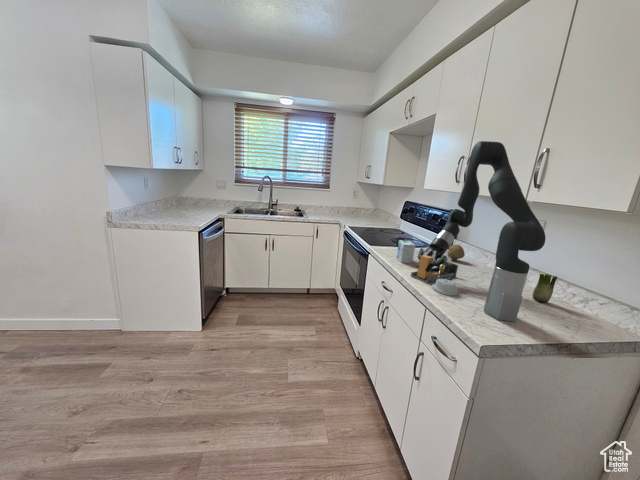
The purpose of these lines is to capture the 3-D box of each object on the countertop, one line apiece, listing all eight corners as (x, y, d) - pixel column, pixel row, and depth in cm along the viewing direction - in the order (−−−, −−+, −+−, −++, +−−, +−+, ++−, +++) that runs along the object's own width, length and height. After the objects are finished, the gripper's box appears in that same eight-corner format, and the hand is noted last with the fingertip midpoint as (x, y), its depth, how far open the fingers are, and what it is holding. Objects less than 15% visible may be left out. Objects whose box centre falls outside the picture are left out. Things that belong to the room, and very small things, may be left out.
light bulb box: (395, 257, 153) (398, 239, 151) (407, 258, 153) (410, 240, 151) (400, 262, 143) (403, 244, 140) (412, 263, 143) (416, 245, 140)
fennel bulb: (549, 302, 107) (558, 275, 104) (548, 305, 103) (557, 277, 100) (531, 297, 110) (539, 270, 108) (530, 300, 107) (538, 273, 104)
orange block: (425, 272, 127) (429, 253, 124) (437, 277, 122) (442, 257, 119) (414, 275, 122) (418, 254, 119) (426, 280, 117) (430, 259, 114)
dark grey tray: (438, 270, 135) (439, 266, 135) (454, 276, 128) (455, 272, 128) (410, 276, 123) (411, 272, 122) (427, 283, 115) (428, 279, 115)
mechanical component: (426, 286, 112) (442, 296, 103) (428, 277, 111) (445, 286, 102) (445, 285, 115) (462, 295, 106) (447, 276, 114) (465, 285, 105)
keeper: (438, 270, 136) (440, 259, 134) (455, 276, 128) (458, 265, 126) (430, 271, 132) (433, 260, 131) (448, 278, 124) (451, 266, 123)
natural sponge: (465, 261, 157) (468, 245, 155) (459, 263, 151) (462, 247, 149) (450, 257, 164) (453, 242, 161) (443, 259, 158) (447, 243, 156)
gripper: (426, 233, 126) (406, 259, 122) (454, 240, 114) (433, 269, 110) (430, 243, 130) (411, 269, 126) (458, 251, 119) (438, 279, 115)
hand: (422, 269), depth 118 cm, fingers closed on orange block, 4 cm apart
